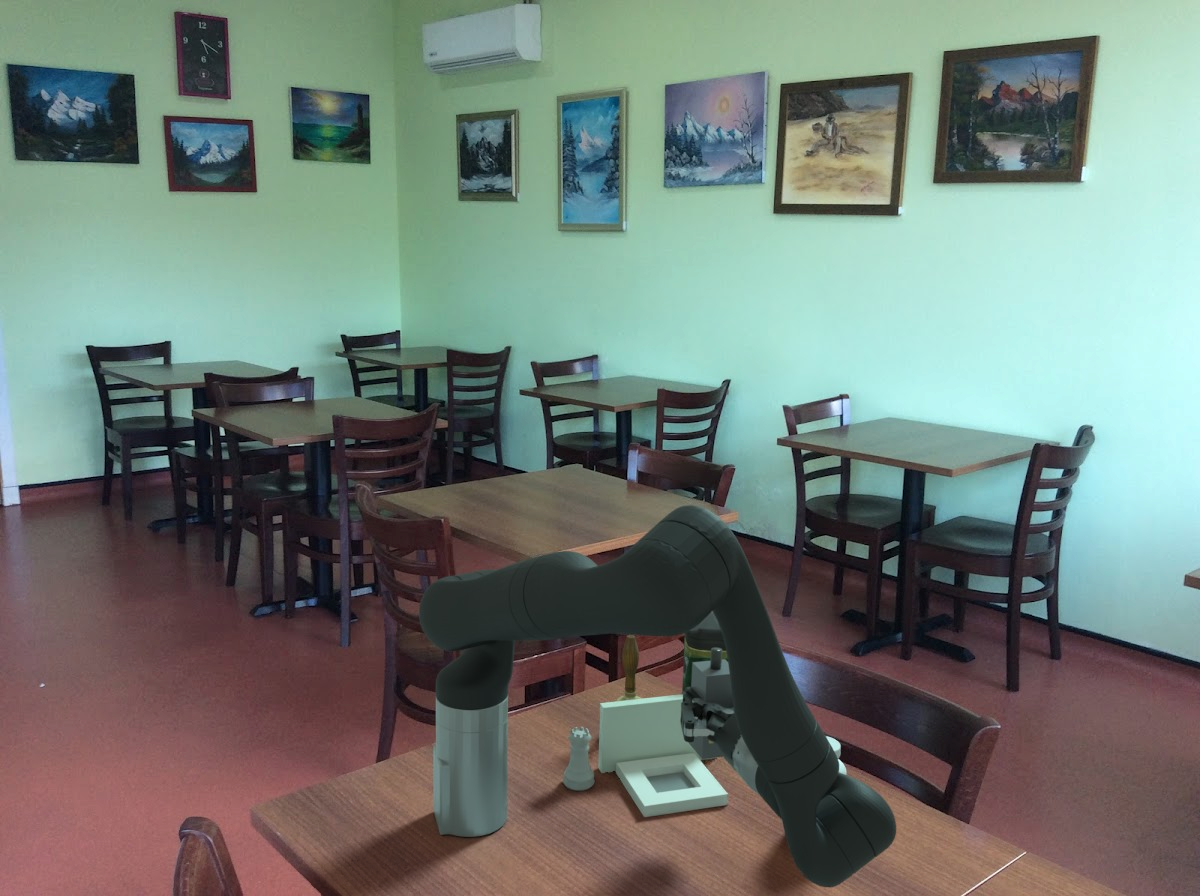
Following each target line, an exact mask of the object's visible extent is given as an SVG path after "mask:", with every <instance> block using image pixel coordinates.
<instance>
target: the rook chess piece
mask: <svg viewBox="0 0 1200 896" xmlns="http://www.w3.org/2000/svg"><path fill="white" fill-rule="evenodd" d="M592 738H593V737H592V734H590V731H589V729H588V728H587V727H586V728H585V729H584V726H580V727H579V729H578V727H577V726H575V727H573V729H572V728H571V730H570V733H569V734H568V741H569V742H570V746H569V749H570V757H569V764H567V766H566V769H564V772H563V779H562V782H563V784H564V786H565V787H566V788H567V789H568V790H572V791H577V792H583V791H587V790H589V789H591V788H592V787H593V786H594V785H595V782H596V781H595V779H594V777H595V772H594V770H593V769H592V766H591V764H590V760H589V759H590V757H589V750H590V749H591V746H590V745H589V743H590V741H591V740H592ZM590 787H591V788H590Z"/></svg>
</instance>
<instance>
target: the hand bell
mask: <svg viewBox="0 0 1200 896" xmlns="http://www.w3.org/2000/svg"><path fill="white" fill-rule="evenodd" d="M621 654H622V666H623V670H624V673H625V678H624V679H625V683H624V684H625V685H624V695H622V696H619V697H618V698H617V699H616V701H625V700H634V699H643V697H640V696H638V695H637V690H636V689H637V688H636V686H637V685H636V674H637V673H636V672H637V670H638V666H639V662H640V661H639V660H640V652H639V646H638V643H637V640H636V635H631V634H626V638H625V642H624V645H623V649H622V652H621Z"/></svg>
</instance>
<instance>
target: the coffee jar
mask: <svg viewBox="0 0 1200 896" xmlns="http://www.w3.org/2000/svg"><path fill="white" fill-rule="evenodd" d="M683 647H684V651H683V666H682V668H683V669H682V686H681V688H682V690H681V691H682V692H681V694H683V691H685V688H686V687H691V682H692V662H702V661H711V649H712V648H715V647H716V648H721V649H722V659H725V660H726V661H727V662H728V657H727V652H726V647H725V642H724V638H723V635H722V632H721V629H720V626H719V624H718V621H717V619H716V617H715V615H714V613H713V611H712V612H711V613H710V614H709V615H708V616H707V617H706V618H705V619H704V620H703V621H702V622H701V623H700V624H699V625H698V626H696V627H695V628H693V629H692V630H690V631H688V632H686V633H684V646H683Z"/></svg>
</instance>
